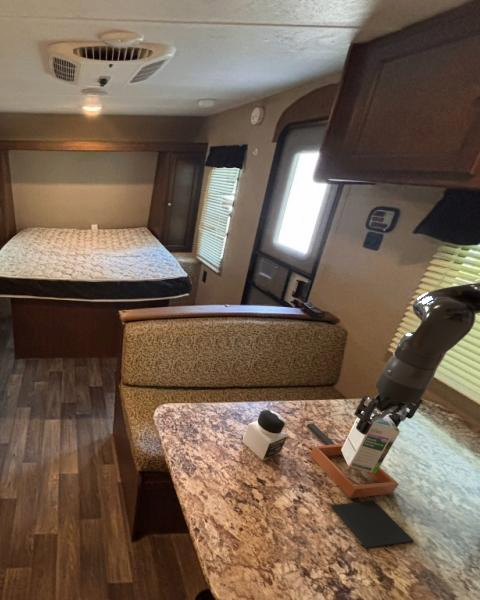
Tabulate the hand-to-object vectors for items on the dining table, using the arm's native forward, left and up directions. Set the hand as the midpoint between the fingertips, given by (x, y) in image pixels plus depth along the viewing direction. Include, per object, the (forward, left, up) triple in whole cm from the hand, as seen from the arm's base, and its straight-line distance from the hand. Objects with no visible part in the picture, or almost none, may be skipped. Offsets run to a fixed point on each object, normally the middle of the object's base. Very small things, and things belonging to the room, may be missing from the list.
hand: (374, 430), depth 78 cm
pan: (0, -4, -16) cm, 16 cm away
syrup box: (0, 0, -11) cm, 11 cm away
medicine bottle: (+19, -10, -16) cm, 27 cm away
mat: (+7, +12, -16) cm, 21 cm away
